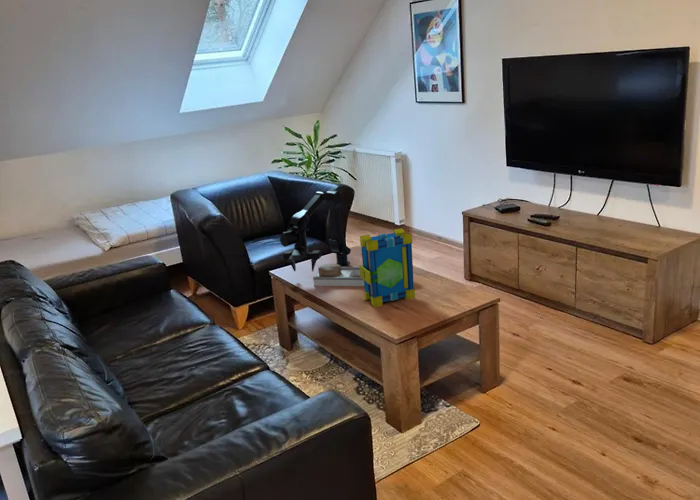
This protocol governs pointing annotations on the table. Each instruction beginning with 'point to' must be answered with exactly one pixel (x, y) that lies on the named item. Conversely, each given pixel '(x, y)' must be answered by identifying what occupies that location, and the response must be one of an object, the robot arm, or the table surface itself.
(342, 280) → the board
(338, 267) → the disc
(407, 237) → the decorative book
